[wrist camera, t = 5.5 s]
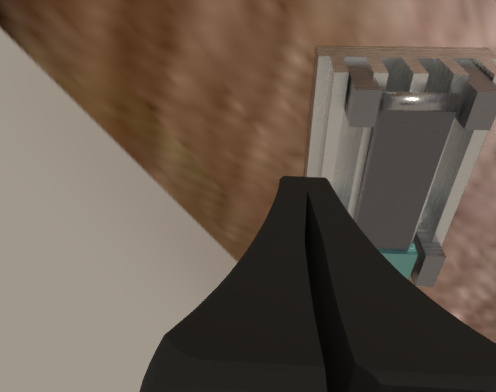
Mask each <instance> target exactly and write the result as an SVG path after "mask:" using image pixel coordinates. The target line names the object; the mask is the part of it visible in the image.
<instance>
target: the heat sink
mask: <svg viewBox="0 0 496 392" xmlns="http://www.w3.org/2000/svg"><path fill="white" fill-rule="evenodd" d="M382 91H395V92H447V93H459V94H460V98H461V101H460V106H459V109H458V111H457V112H456V114H455V117H454V120H453V123H452V126H451V129H450V132H449V134H448V137H447V140H446V143H445V146H444V149H443V152H442V154H441V157H440V160H439V163H438V166H437V169H436V172H435V174H434V177H433V180H432V183H431V186H430V189H429V192H428V194H427V197H426V200H425V203H424V206H423V209H422V212H421V214H420V217H419V220H418V223H417V226H416V229H415V232H414V234H413V237H412V240H411V243H410V244H414V245H415V248H416V251H417V254H418V256H417V259H416V261H415V264H414V267H413V269H412V272H411V276H412V279H413V282H414V285H415V286H418V287H433V286H434V284H435V281H436V279H437V277H438V274H439V272H440V270H441V267H442V265H443V262H444V260H445V258H446V256H445V254H444V252H443V250H442V247H441V246H442V244H443V241H444V239H445V236H446V234H447V231H448V229H449V226H450V224H451V221H452V219H453V216H454V214H455V211H456V209H457V206H458V204H459V201H460V199H461V197H462V194H463V192H464V189H465V187H466V184H467V182H468V179H469V177H470V174H471V172H472V169H473V167H474V164H475V162H476V159H477V157H478V154H479V152H480V149H481V147H482V145H483V142H484V140H485V137H486V135H487V132H488V130H490V128H491V126H492V123H493V121H494V118H495V116H496V54H494V53H493V52H492V51H491V50H489V49H488V48H430V47H351V46H316V55H315V65H314V76H313V87H312V97H311V108H310V118H309V129H308V139H307V150H306V160H305V171H304V177H324V178H327V179H328V181H329V182H330V184H331V186H332V187H333V189H334V191H335V193H336V194H337V196H338V197H339V199H340V201H341V202H342V204H343V205H344V207H345V208H346V210H347V211H348V213H349V214H350V215H351V217H352V218H353V219H354V218H355V213H356V209H357V204H358V199H359V195H360V190H361V185H362V181H363V176H364V171H365V167H366V162H367V157H368V152H369V148H370V143H371V138H372V134H373V129H374V125H375V121H376V116H377V111H378V106H379V101H380V96H381V92H382Z"/></svg>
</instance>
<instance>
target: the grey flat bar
mask: <svg viewBox="0 0 496 392" xmlns="http://www.w3.org/2000/svg"><path fill="white" fill-rule="evenodd" d="M460 101H461V98H460V94H459V93H447V92H395V91H382V92H381V96H380V101H379V106H378V111H377V116H376V121H375V125H374V129H373V134H372V138H371V143H370V148H369V152H368V157H367V162H366V167H365V171H364V176H363V181H362V185H361V190H360V195H359V199H358V204H357V209H356V213H355V218H354V221H355V222H356V224H357V225H358V226H359V228H360V229H361V230H362V231H363V233H364V234H365V235H366V236H367V238H368V239H369V240H370V241H371V242H372V244H373V245H374V246H375V247H376V248H377V249H378V250H379V252H380V253H381V254H382V255H383V256H384V257H385V258H386V259H387V260H388V261H389V262H390V263H391V264H392V265H393V266H394V267H395V268H396V269H397V270H398V271H399V272H400V273H401V274H402V275H403V276H404V277H405V278H407V279H409V277H410V275H411V272H412V269H413V267H414V264H415V261H416V259H417V256H418V254H417V251H416V248H415V245H414V244H410V243H411V240H412V237H413V234H414V232H415V229H416V226H417V223H418V220H419V217H420V214H421V212H422V209H423V206H424V203H425V200H426V197H427V194H428V192H429V189H430V186H431V183H432V180H433V177H434V174H435V172H436V169H437V166H438V163H439V160H440V157H441V154H442V152H443V149H444V146H445V143H446V140H447V137H448V134H449V132H450V129H451V126H452V123H453V120H454V117H455V114H456V112H457V111H458V109H459V106H460Z"/></svg>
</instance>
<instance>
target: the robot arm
mask: <svg viewBox="0 0 496 392" xmlns="http://www.w3.org/2000/svg"><path fill="white" fill-rule="evenodd" d="M140 392H496V344H495V343H494V342H492V341H491V340H489V339H488V338H486V337H484V336H483V335H481V334H480V333H478V332H477V331H475V330H473V329H472V328H470V327H469V326H467V325H466V324H464V323H463V322H461V321H460V320H459V319H457V318H456V317H455V316H453V315H452V314H450V313H449V312H448V311H446V310H445V309H443V308H442V307H441V306H439V305H438V304H437V303H436V302H434V301H433V300H432V299H430V298H429V297H428V296H427V295H426V294H424V293H423V292H422V291H421V290H420V289H418V288H417V287H416V286H415V285H414V284H412V283H411V282H410V281H409V280H408V279H407V278H405V277H404V276H403V275H402V274H401V273H400V272H399V271H398V270H397V269H396V268H395V267H394V266H393V265H392V264H391V263H390V262H389V261H388V260H387V259H386V258H385V257H384V256H383V255H382V254H381V253H380V252H379V250H378V249H377V248H376V247H375V246H374V245H373V244H372V242H371V241H370V240H369V239H368V238H367V236H366V235H365V234H364V233H363V231H362V230H361V229H360V228H359V226H358V225H357V224H356V222H355V221H354V219H353V218H352V217H351V215H350V214H349V213H348V211H347V210H346V208H345V207H344V205H343V204H342V202H341V201H340V199H339V197H338V196H337V194H336V193H335V191H334V189H333V187H332V186H331V184H330V182H329V181H328V179H327V178H324V177H292V176H283V177H282V178H281V179H280V183H279V188H278V192H277V195H276V197H275V200H274V203H273V205H272V207H271V209H270V211H269V213H268V216H267V218H266V220H265V222H264V223H263V225H262V227H261V229H260V230H259V232H258V234H257V235H256V237H255V239H254V240H253V242H252V244H251V245H250V247H249V248H248V250H247V251H246V252H245V254H244V255H243V257H242V258H241V259H240V261H239V262H238V263H237V265H236V266H235V267H234V268H233V269H232V271H231V272H230V273H229V274H228V276H227V277H226V278H225V279H224V280H223V281H222V282H221V284H220V285H219V286H218V287H217V288H216V289H215V290H214V291H213V292H212V293H211V294H210V295H209V296H208V297H207V298H206V299H205V300H204V301H203V302H202V303H201V304H200V305H199V306H198V307H197V308H196V309H195V310H193V312H191V313H190V314H189V315H188V316H187V317H185V318H184V319H183V320H182V321H181V322H179V323H178V324H177V325H176V326H175V327H174V328H172V329H171V330H170V331H169V332H167V333H166V334H165V335H164V337H163V339H162V340H161V342H160V344H159V346H158V348H157V350H156V351H155V354H154V356H153V358H152V360H151V362H150V364H149V366H148V369H147V371H146V374H145V376H144V379H143V382H142V385H141V389H140Z"/></svg>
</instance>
